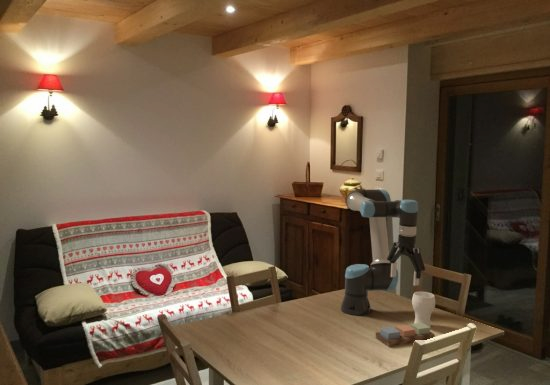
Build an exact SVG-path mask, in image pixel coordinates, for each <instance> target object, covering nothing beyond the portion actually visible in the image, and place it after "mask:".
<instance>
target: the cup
mask: <svg viewBox="0 0 550 385" xmlns="http://www.w3.org/2000/svg"><path fill="white" fill-rule="evenodd" d="M411 304H412V308H413V311H414V316H415V317H414V322H413V324H416V323H423V324H425V325H427V326H429V327H430V328H431V326H432V325H431V315H432V313H433V312H434V310H435V307H436V297H435V294H433V293H431V292H429V291H428V292H427V291H415V292H414V293H413V295H412V298H411Z"/></svg>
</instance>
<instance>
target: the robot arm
mask: <svg viewBox="0 0 550 385" xmlns="http://www.w3.org/2000/svg"><path fill="white" fill-rule="evenodd" d="M345 204H346V206H347V208H348V209H350V210H352V211H358V212H360V214H361V217H363V218H368V219H369V229H370V230H369V231H370V242H371V253H372V254H371V255H372V262H371V263H370V267H369V265H368V264H364V263H363V264H362V263H358V264H357V263H355V264H351V265H349V266H347V267H346V269H345V274H344V296H343V299H342V301H341V303H340V311H342V312H343V313H344V314H345V313H346V314H348V315H351V316H352V315H353V316H364V315H368V314H370V313H371V303H370V300H369V297H368V296H369V295H368V294H369V292H371V291H372V292H373V291H378V292H379V291H381V292H382V291H384V292H387V291H394V290H395V289H396V288H397V286H398V281H399V271H398V269H397V261H398V259H400V257H401V256H402V255H403V256H404V255H405V257H408V258H409V260H410V262H411V264H412V265H413V268H414V269H415V270H414V272H413V286H414V287H415V286H419V285H420V279H421V277H422V276H421V274H422V272H423V271H426V267H425V263H424V261H423V258H422V254H421V248H420V247H415V245H416V242H417V241H416V240H417V237H416V235H417V226H418V225H417V223H418V212H419V203H418V201H417V200H415V199H402V200H398V199H395V200H393V201H392V199H391V195H390V194H389V192H388V190H386V189H379V188H376V189H363V188H360V189H355V190H352V191H351V192H349V193H348V194H347V195H346V197H345ZM386 218H398V219H399V221H398V222H399V224H398V225H399V226H398V238H397V241H395V242H393V244H392V248H391V250H389V240H388V239H389V238H388V229H387V219H386Z"/></svg>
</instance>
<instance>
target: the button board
mask: <svg viewBox="0 0 550 385" xmlns="http://www.w3.org/2000/svg"><path fill="white" fill-rule="evenodd" d="M435 335H436V334H435V333H433V332H431V331H430V333H429V334H423V335H418V334H416V333H415V336H409V337H402V336H400V338H396V339H390V340H387V339H386V338H384V337H383V336H381V335H380V331H377V332H375V339H376V340H378V341H379V342H381V343H382V344H383V345H385V346H386V347H388V348H391V347H397V346H403V345H410V344H414V343H413V342H414V341H415V340H427V339H430V338H433V337H436V336H435Z"/></svg>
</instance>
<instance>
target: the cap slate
mask: <svg viewBox="0 0 550 385" xmlns="http://www.w3.org/2000/svg"><path fill="white" fill-rule="evenodd" d="M379 332H380V335H381V336H383V337H384V338H386V339H387V340H390V339H396V338H400V331H398V330H396V327H395V328H394V327H393V326H389V327H381V328H380V329H379Z"/></svg>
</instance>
